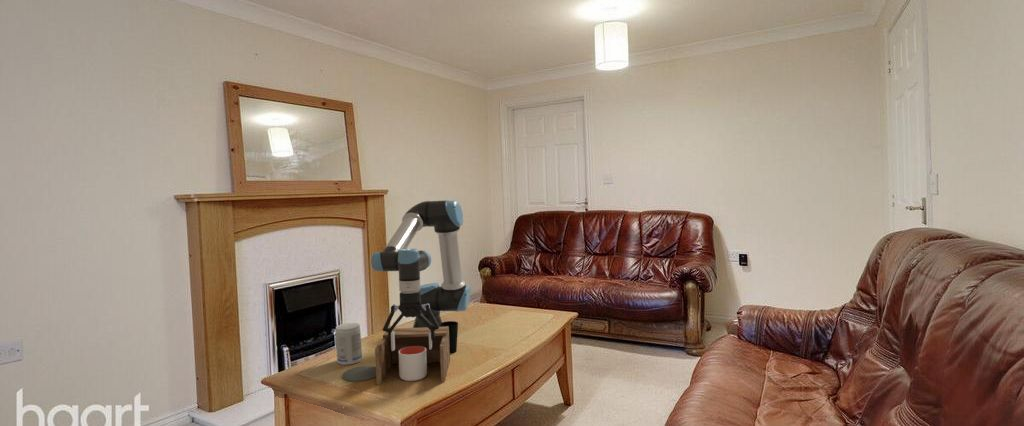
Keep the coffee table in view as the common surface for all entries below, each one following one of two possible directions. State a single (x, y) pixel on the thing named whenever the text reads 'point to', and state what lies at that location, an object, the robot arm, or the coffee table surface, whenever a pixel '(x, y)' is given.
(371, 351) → the coffee table surface
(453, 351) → the cup
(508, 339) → the coffee table surface
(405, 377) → the cup
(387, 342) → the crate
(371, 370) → the coaster
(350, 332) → the supplement tub
